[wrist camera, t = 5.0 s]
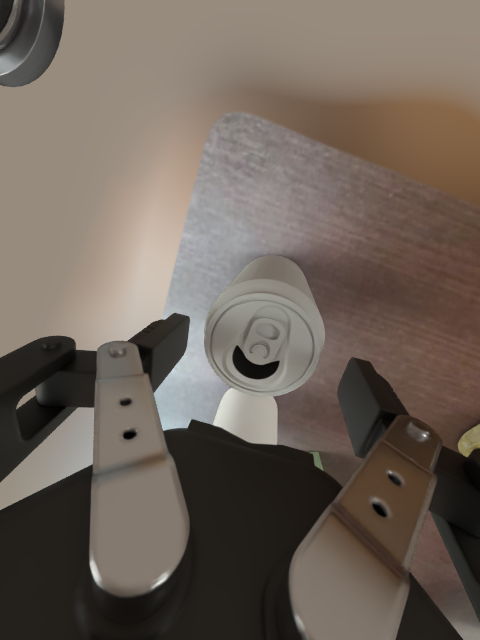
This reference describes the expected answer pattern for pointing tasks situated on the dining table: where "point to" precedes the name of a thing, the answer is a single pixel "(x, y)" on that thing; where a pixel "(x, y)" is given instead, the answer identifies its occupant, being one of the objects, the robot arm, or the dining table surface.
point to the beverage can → (265, 329)
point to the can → (248, 417)
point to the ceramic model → (469, 441)
